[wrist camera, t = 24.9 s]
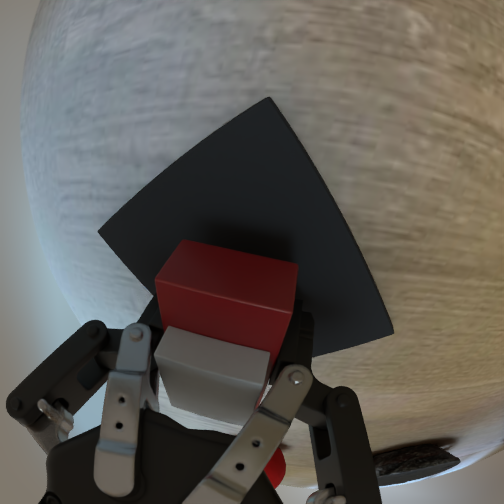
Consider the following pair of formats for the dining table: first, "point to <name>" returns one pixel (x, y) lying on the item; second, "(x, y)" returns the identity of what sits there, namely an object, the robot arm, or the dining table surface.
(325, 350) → the mat
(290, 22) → the dining table surface
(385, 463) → the board
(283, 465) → the fruit
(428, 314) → the dining table surface
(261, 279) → the red and grey block
